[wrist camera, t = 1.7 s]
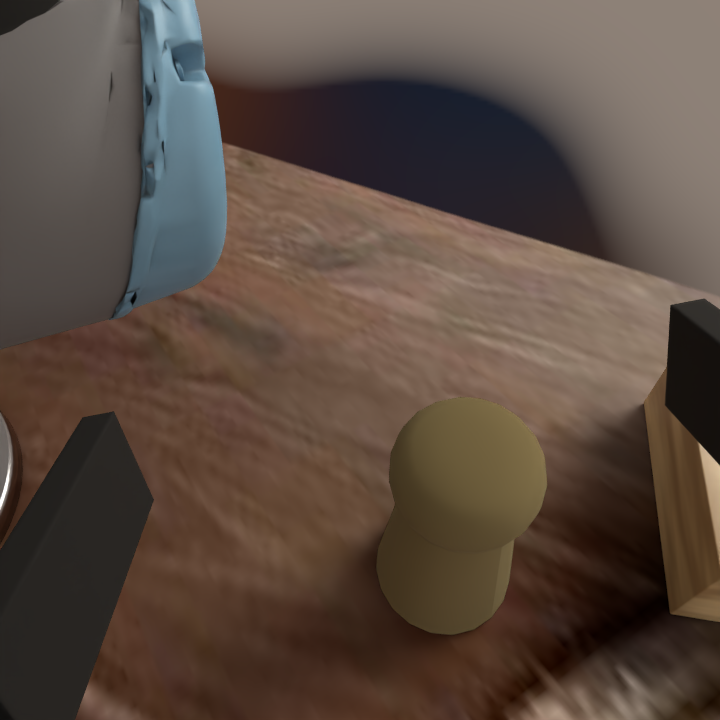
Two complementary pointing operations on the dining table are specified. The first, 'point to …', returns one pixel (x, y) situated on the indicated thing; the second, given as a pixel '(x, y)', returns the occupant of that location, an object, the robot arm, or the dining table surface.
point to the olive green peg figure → (457, 512)
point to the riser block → (685, 511)
